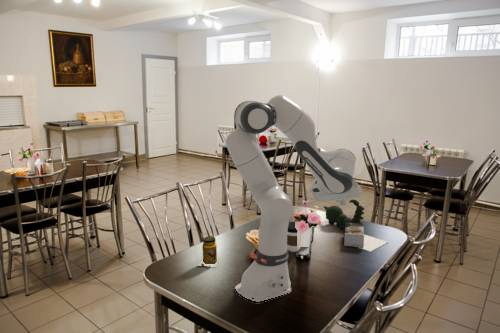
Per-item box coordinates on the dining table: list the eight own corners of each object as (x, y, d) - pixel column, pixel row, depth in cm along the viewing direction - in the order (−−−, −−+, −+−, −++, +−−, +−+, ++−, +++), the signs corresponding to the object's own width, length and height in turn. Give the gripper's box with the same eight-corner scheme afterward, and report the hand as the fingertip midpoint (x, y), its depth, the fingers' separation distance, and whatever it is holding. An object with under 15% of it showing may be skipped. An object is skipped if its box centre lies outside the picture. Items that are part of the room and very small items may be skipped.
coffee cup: (308, 247, 178) (309, 224, 175) (298, 256, 169) (299, 231, 166) (288, 242, 183) (289, 219, 181) (277, 250, 175) (278, 226, 172)
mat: (370, 252, 172) (370, 251, 172) (346, 243, 182) (346, 242, 182) (388, 242, 182) (388, 242, 182) (364, 235, 192) (364, 234, 192)
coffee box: (344, 233, 177) (345, 222, 192) (344, 246, 178) (344, 233, 193) (364, 235, 174) (363, 223, 190) (363, 247, 176) (363, 235, 191)
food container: (317, 245, 180) (317, 225, 178) (304, 244, 181) (305, 225, 179) (313, 235, 193) (314, 217, 190) (301, 235, 193) (302, 217, 191)
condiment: (216, 268, 158) (215, 241, 156) (196, 267, 159) (195, 241, 156) (219, 260, 165) (218, 235, 163) (200, 259, 166) (199, 234, 163)
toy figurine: (364, 234, 198) (327, 218, 216) (369, 201, 192) (331, 187, 211) (353, 238, 192) (316, 221, 210) (358, 204, 187) (320, 190, 205)
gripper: (355, 172, 145) (369, 195, 151) (310, 179, 158) (324, 200, 164) (352, 184, 141) (366, 207, 148) (306, 190, 154) (321, 211, 160)
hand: (344, 204), depth 156 cm, fingers closed
